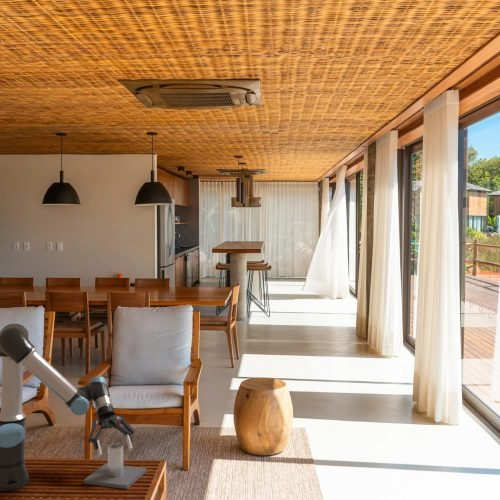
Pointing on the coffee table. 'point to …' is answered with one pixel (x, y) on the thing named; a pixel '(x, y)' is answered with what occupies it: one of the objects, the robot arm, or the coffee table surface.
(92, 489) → the coffee table surface
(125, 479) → the post plate
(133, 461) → the coffee table surface
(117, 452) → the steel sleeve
